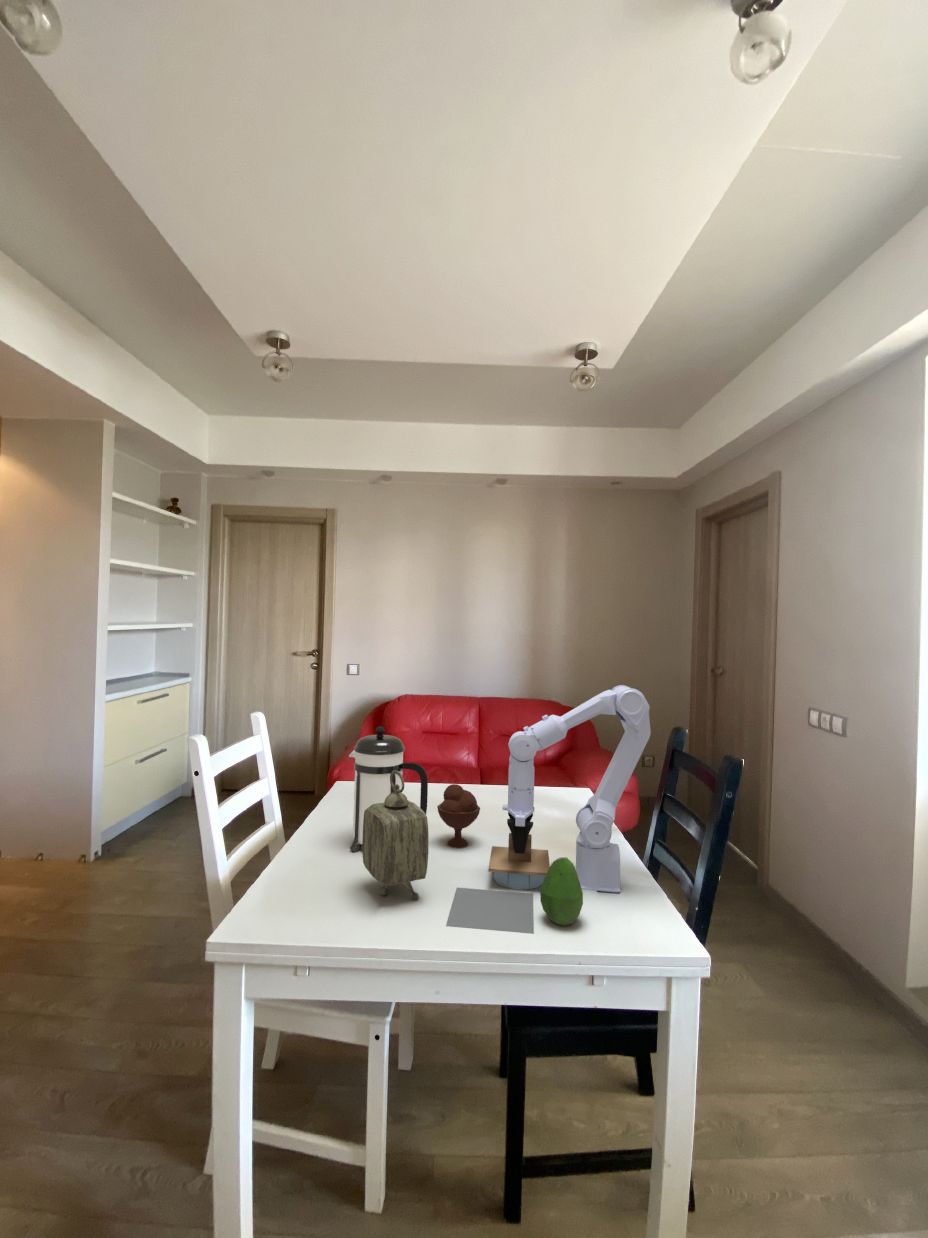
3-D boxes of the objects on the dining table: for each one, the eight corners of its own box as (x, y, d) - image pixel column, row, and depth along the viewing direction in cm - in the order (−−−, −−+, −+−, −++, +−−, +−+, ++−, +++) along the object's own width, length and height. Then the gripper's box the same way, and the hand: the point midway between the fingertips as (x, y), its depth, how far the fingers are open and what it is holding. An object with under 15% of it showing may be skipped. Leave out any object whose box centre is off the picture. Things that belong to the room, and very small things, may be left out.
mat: (532, 895, 117) (532, 893, 117) (533, 935, 101) (533, 933, 101) (456, 889, 119) (456, 887, 119) (445, 928, 103) (445, 926, 103)
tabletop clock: (427, 903, 112) (430, 777, 113) (384, 913, 107) (388, 781, 108) (398, 875, 125) (401, 762, 125) (359, 883, 120) (363, 766, 121)
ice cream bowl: (442, 853, 138) (444, 792, 138) (432, 837, 149) (434, 780, 149) (483, 850, 141) (485, 790, 141) (471, 835, 151) (472, 779, 152)
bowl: (543, 871, 129) (543, 854, 129) (544, 893, 118) (545, 873, 118) (495, 868, 130) (495, 850, 130) (492, 889, 119) (493, 870, 119)
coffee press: (367, 862, 131) (371, 733, 132) (336, 842, 143) (340, 724, 144) (427, 846, 142) (431, 727, 143) (393, 829, 155) (397, 719, 156)
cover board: (548, 852, 130) (548, 828, 130) (550, 876, 117) (551, 849, 117) (492, 848, 131) (492, 824, 132) (488, 871, 118) (489, 844, 119)
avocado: (576, 913, 110) (578, 850, 110) (586, 934, 102) (588, 867, 102) (536, 912, 110) (537, 850, 110) (543, 933, 102) (544, 866, 102)
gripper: (504, 778, 132) (502, 836, 132) (501, 794, 118) (500, 860, 117) (534, 779, 132) (533, 838, 131) (535, 796, 117) (533, 862, 117)
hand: (519, 849), depth 124 cm, fingers open, 4 cm apart
